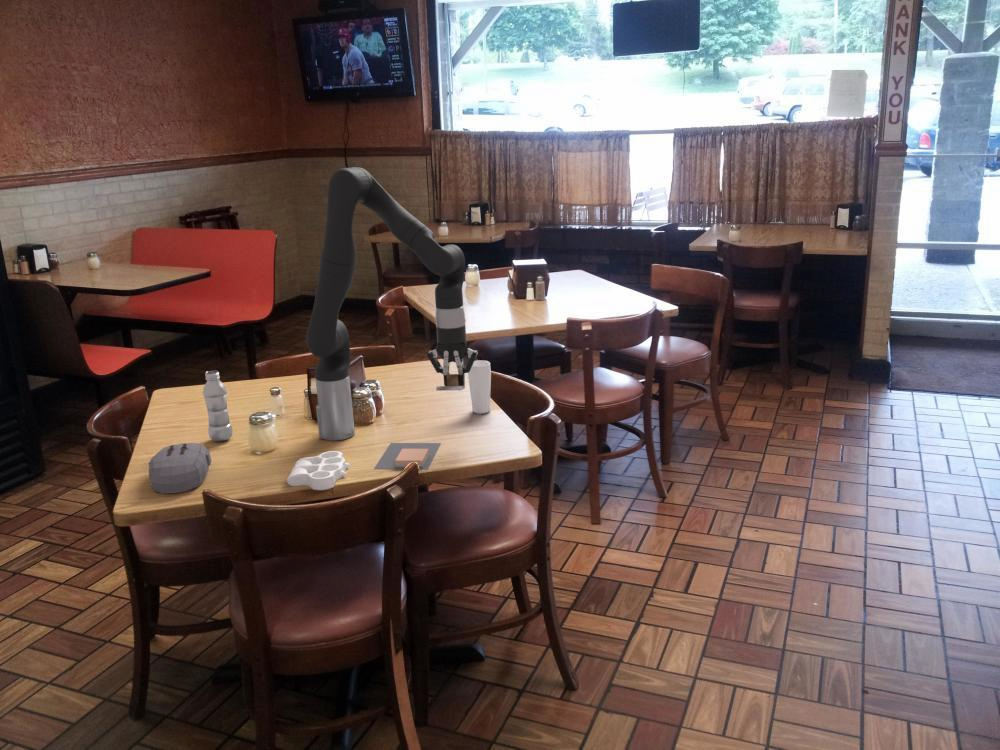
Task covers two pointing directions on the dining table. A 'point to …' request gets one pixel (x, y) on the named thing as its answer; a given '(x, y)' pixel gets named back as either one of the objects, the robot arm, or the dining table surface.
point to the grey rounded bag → (179, 467)
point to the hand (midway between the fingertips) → (454, 387)
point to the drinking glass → (480, 386)
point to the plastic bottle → (217, 407)
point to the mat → (395, 448)
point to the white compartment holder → (319, 471)
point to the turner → (451, 383)
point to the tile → (412, 457)
